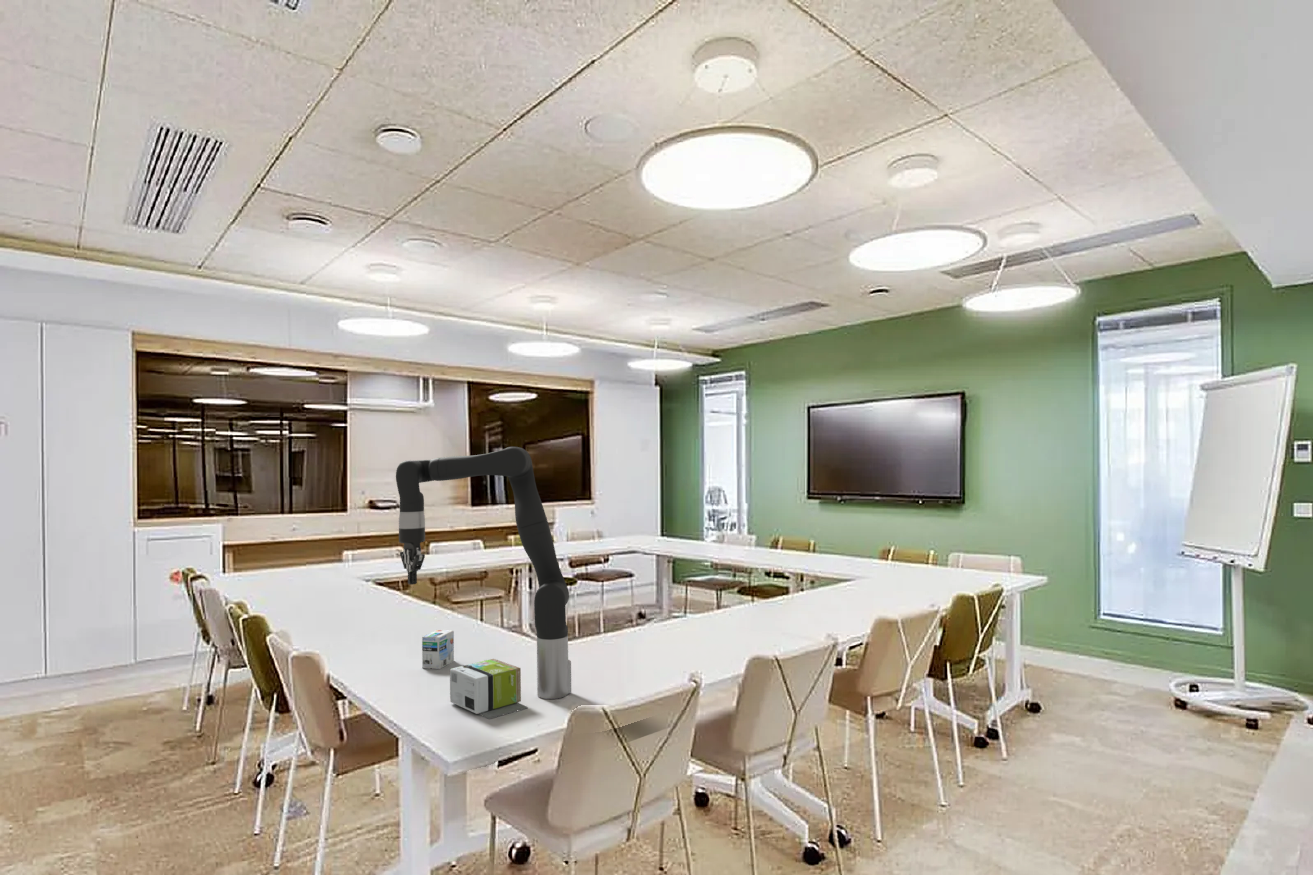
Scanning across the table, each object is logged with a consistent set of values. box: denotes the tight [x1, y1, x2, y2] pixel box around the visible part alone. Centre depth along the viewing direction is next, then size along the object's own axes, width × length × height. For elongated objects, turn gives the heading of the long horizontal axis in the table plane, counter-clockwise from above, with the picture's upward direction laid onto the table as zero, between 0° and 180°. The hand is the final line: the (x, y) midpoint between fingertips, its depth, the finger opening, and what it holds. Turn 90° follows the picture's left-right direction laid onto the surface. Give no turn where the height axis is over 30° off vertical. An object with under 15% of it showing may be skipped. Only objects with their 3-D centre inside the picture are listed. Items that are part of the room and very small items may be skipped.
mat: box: [477, 702, 528, 720], centre depth 208 cm, size 12×22×1 cm, turn 42°
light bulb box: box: [421, 629, 455, 670], centre depth 250 cm, size 11×7×11 cm, turn 168°
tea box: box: [449, 658, 522, 715], centre depth 208 cm, size 15×10×15 cm
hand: (412, 584), depth 219 cm, fingers closed
